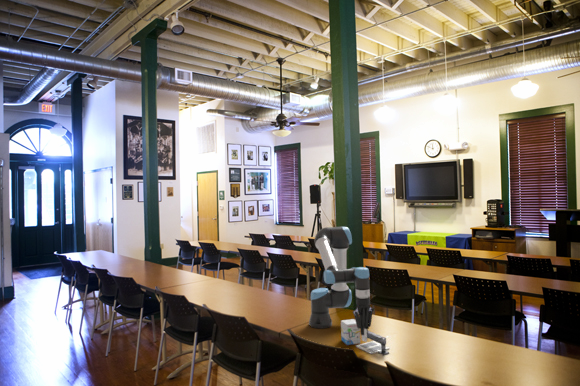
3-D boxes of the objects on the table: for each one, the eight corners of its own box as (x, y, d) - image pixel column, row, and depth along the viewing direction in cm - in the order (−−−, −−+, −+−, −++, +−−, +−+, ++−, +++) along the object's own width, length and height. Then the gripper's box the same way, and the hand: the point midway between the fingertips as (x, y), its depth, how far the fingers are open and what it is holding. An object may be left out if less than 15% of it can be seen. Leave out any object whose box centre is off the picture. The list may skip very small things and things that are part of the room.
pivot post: (378, 352, 206) (377, 343, 206) (383, 351, 208) (383, 342, 208) (383, 355, 203) (383, 346, 203) (389, 353, 205) (388, 344, 205)
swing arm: (387, 344, 205) (387, 338, 205) (383, 345, 203) (382, 339, 204) (365, 334, 221) (364, 328, 221) (360, 335, 220) (360, 329, 220)
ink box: (347, 345, 218) (346, 324, 219) (341, 340, 227) (340, 320, 227) (360, 343, 221) (360, 322, 221) (354, 338, 229) (353, 318, 229)
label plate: (355, 346, 216) (355, 345, 216) (373, 341, 222) (373, 340, 222) (371, 354, 204) (371, 353, 204) (389, 349, 211) (389, 347, 211)
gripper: (357, 300, 202) (359, 345, 202) (376, 296, 209) (378, 340, 208) (348, 297, 209) (350, 341, 208) (367, 293, 215) (369, 336, 215)
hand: (364, 340), depth 208 cm, fingers closed
